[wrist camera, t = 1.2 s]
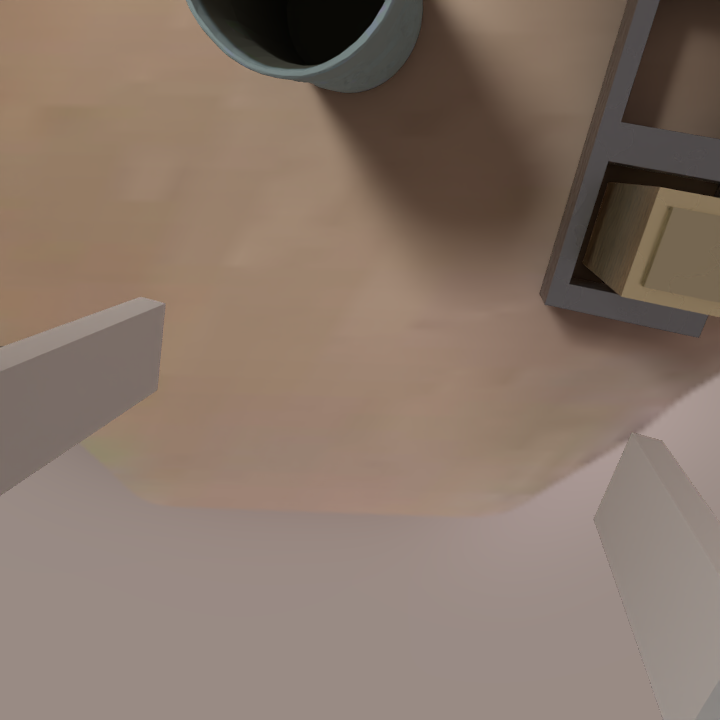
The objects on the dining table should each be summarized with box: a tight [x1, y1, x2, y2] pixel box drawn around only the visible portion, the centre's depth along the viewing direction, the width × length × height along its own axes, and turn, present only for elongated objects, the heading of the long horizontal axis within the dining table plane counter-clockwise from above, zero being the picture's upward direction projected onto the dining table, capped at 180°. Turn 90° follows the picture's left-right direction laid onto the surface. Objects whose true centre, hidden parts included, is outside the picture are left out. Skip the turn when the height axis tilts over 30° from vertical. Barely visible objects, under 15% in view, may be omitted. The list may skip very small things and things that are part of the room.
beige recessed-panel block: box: [582, 182, 720, 317], centre depth 29 cm, size 5×5×10 cm
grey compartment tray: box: [540, 0, 720, 338], centre depth 29 cm, size 28×9×3 cm, turn 170°
